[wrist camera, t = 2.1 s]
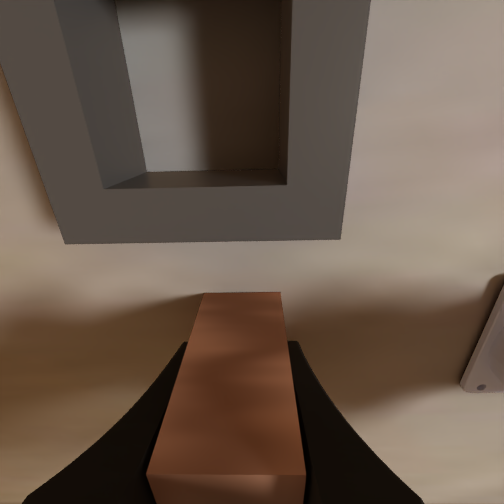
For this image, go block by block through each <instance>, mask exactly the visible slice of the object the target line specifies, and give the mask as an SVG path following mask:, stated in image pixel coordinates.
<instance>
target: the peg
mask: <svg viewBox="0 0 504 504" xmlns="http://www.w3.org/2000/svg"><path fill="white" fill-rule="evenodd" d="M146 476H147V479H148V481H149V484H150V487H151V490H152V492H153V495H154V498H155V501H156V503H157V504H303V499H304V491H305V482H306V470H305V463H304V456H303V449H302V442H301V435H300V428H299V421H298V414H297V407H296V400H295V392H294V385H293V378H292V371H291V364H290V357H289V350H288V343H287V336H286V329H285V322H284V315H283V308H282V301H281V294H280V292H252V293H204V295H203V298H202V301H201V304H200V307H199V310H198V313H197V316H196V319H195V323H194V326H193V329H192V332H191V335H190V338H189V341H188V344H187V348H186V351H185V354H184V357H183V360H182V363H181V366H180V369H179V373H178V376H177V379H176V382H175V385H174V388H173V391H172V394H171V397H170V401H169V404H168V407H167V410H166V413H165V416H164V419H163V422H162V426H161V429H160V432H159V435H158V438H157V441H156V444H155V447H154V451H153V454H152V457H151V460H150V463H149V466H148V469H147V472H146Z"/></svg>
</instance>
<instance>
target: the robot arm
mask: <svg viewBox="0 0 504 504" xmlns="http://www.w3.org/2000/svg"><path fill="white" fill-rule="evenodd" d="M287 343H288V350H289V357H290V364H291V371H292V378H293V385H294V392H295V400H296V407H297V414H298V421H299V428H300V435H301V442H302V449H303V456H304V463H305V470H306V482H305V491H304V499H303V504H424V502H423V501H422V499H421V498H420V497H419V496H418V495H417V494H416V493H415V492H414V491H412V490H411V489H410V488H409V487H408V486H407V485H406V484H405V483H404V482H403V481H402V480H401V479H400V478H399V477H398V476H397V475H396V474H395V473H394V472H393V471H392V470H391V469H390V468H389V467H388V466H387V465H386V464H385V463H384V462H383V461H382V460H381V459H380V458H379V457H378V456H377V455H376V454H375V453H374V452H373V451H372V450H371V448H370V447H369V446H368V445H367V444H366V443H365V442H364V441H363V440H362V438H361V437H360V436H359V435H358V434H357V433H356V432H355V430H354V429H353V428H352V427H351V426H350V424H349V423H348V422H347V421H346V419H345V418H344V417H343V416H342V414H341V413H340V412H339V410H338V409H337V408H336V406H335V405H334V403H333V402H332V401H331V399H330V398H329V396H328V395H327V393H326V392H325V390H324V389H323V387H322V386H321V384H320V383H319V381H318V379H317V378H316V376H315V374H314V373H313V371H312V369H311V367H310V366H309V364H308V362H307V360H306V358H305V356H304V354H303V352H302V350H301V347H300V345H299V343H298V342H297V341H287ZM187 344H188V342H184V343H182V345H181V346H180V348H179V349H178V351H177V352H176V353H175V355H174V356H173V358H172V359H171V360H170V362H169V363H168V365H167V366H166V367H165V369H164V370H163V371H162V372H161V374H160V375H159V376H158V378H157V379H156V380H155V381H154V383H153V384H152V385H151V386H150V387H149V388H148V390H147V391H146V392H145V393H144V394H143V396H142V397H141V398H140V399H139V400H138V401H137V402H136V403H135V404H134V406H133V407H132V408H131V409H130V410H129V411H128V412H127V413H126V414H125V415H124V416H123V417H122V418H121V419H120V420H119V421H118V422H117V423H116V424H115V425H114V426H113V427H112V428H111V429H110V430H109V431H108V432H106V433H105V434H104V435H103V436H102V437H101V438H100V439H99V440H98V441H97V442H95V443H94V444H93V445H92V446H91V447H90V448H88V449H87V450H86V451H85V452H84V453H82V454H81V455H80V456H79V457H78V458H76V459H75V460H74V461H73V462H72V463H70V464H69V465H68V466H67V467H65V468H64V469H63V470H62V471H60V472H59V473H58V474H56V475H55V476H54V477H52V478H51V479H50V480H48V481H47V482H46V483H44V484H43V485H42V486H40V487H39V488H38V489H36V490H35V491H33V492H32V493H31V494H29V495H28V496H27V497H26V498H25V500H24V501H23V503H22V504H157V503H156V501H155V498H154V495H153V492H152V490H151V487H150V484H149V481H148V479H147V476H146V472H147V469H148V466H149V463H150V460H151V457H152V454H153V451H154V447H155V444H156V441H157V438H158V435H159V432H160V429H161V426H162V422H163V419H164V416H165V413H166V410H167V407H168V404H169V401H170V397H171V394H172V391H173V388H174V385H175V382H176V379H177V376H178V373H179V369H180V366H181V363H182V360H183V357H184V354H185V351H186V348H187ZM460 386H461V387H462V389H463V390H464V391H466V392H469V393H504V286H503V288H502V290H501V292H500V295H499V297H498V299H497V301H496V303H495V306H494V308H493V310H492V312H491V315H490V317H489V319H488V321H487V324H486V326H485V328H484V330H483V332H482V335H481V337H480V339H479V341H478V344H477V346H476V348H475V350H474V353H473V355H472V357H471V359H470V361H469V364H468V366H467V368H466V370H465V373H464V375H463V377H462V379H461V381H460Z"/></svg>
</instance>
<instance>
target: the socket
mask: <svg viewBox="0 0 504 504" xmlns="http://www.w3.org/2000/svg"><path fill="white" fill-rule="evenodd" d="M370 2H371V0H281V40H280V102H279V163H278V169H251V170H210V171H170V172H147V171H146V165H145V160H144V155H143V149H142V144H141V139H140V134H139V128H138V123H137V118H136V113H135V107H134V102H133V97H132V91H131V86H130V81H129V76H128V70H127V65H126V60H125V55H124V49H123V44H122V39H121V34H120V28H119V23H118V18H117V12H116V7H115V2H114V0H0V64H1V67H2V69H3V72H4V75H5V78H6V81H7V83H8V86H9V89H10V92H11V95H12V97H13V100H14V103H15V106H16V109H17V111H18V114H19V117H20V120H21V122H22V125H23V128H24V131H25V134H26V136H27V139H28V142H29V145H30V148H31V150H32V153H33V156H34V159H35V162H36V164H37V167H38V170H39V173H40V176H41V178H42V181H43V184H44V187H45V189H46V192H47V195H48V198H49V201H50V203H51V206H52V209H53V212H54V215H55V217H56V220H57V223H58V226H59V229H60V231H61V234H62V237H63V240H64V243H65V244H112V243H169V242H227V241H284V240H340V239H341V231H342V223H343V215H344V207H345V199H346V192H347V184H348V176H349V168H350V160H351V152H352V144H353V136H354V128H355V121H356V113H357V105H358V97H359V89H360V81H361V73H362V65H363V58H364V50H365V42H366V34H367V26H368V18H369V10H370Z"/></svg>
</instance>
